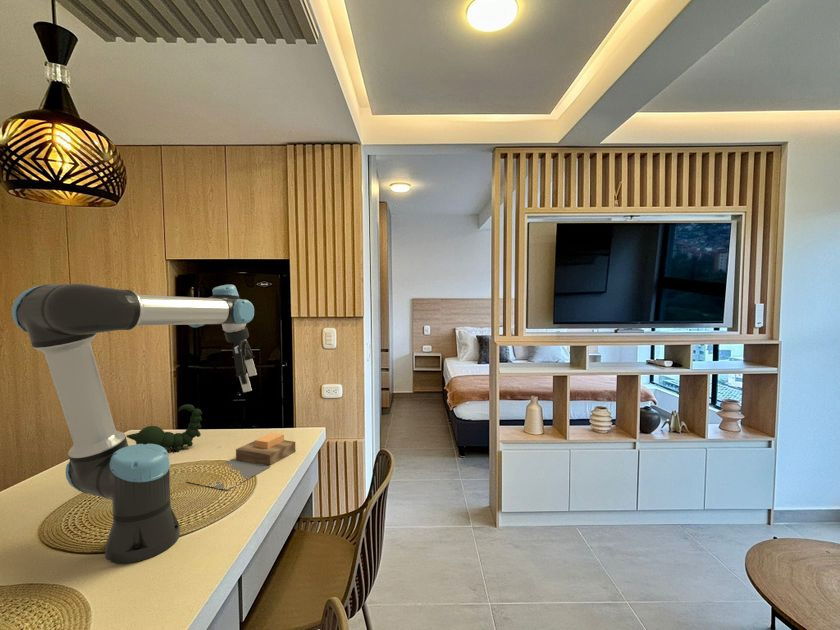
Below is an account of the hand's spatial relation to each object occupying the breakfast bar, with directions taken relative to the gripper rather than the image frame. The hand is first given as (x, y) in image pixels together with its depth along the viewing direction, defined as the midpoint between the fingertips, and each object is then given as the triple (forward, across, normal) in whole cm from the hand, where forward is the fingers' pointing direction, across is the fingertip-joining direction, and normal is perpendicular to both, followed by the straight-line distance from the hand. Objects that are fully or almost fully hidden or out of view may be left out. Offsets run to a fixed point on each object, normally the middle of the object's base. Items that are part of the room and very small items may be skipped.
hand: (250, 383), depth 149 cm
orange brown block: (+26, 0, -1) cm, 27 cm away
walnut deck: (+30, -2, +1) cm, 30 cm away
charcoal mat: (+25, -16, +10) cm, 31 cm away
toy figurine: (+27, +13, +40) cm, 50 cm away
